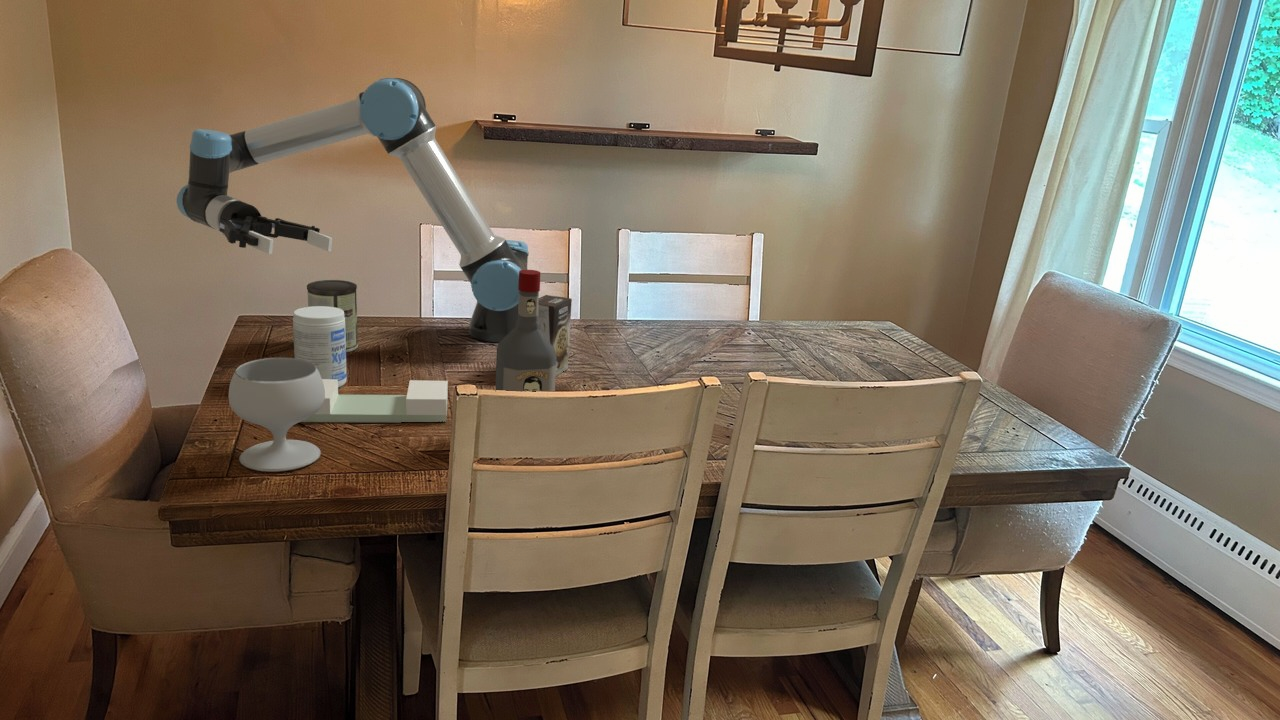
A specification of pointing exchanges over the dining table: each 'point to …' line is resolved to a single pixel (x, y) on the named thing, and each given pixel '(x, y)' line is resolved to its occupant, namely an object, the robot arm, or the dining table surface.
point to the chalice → (277, 409)
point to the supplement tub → (321, 340)
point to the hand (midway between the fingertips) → (301, 245)
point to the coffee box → (556, 326)
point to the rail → (385, 404)
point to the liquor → (526, 345)
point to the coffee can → (337, 304)
